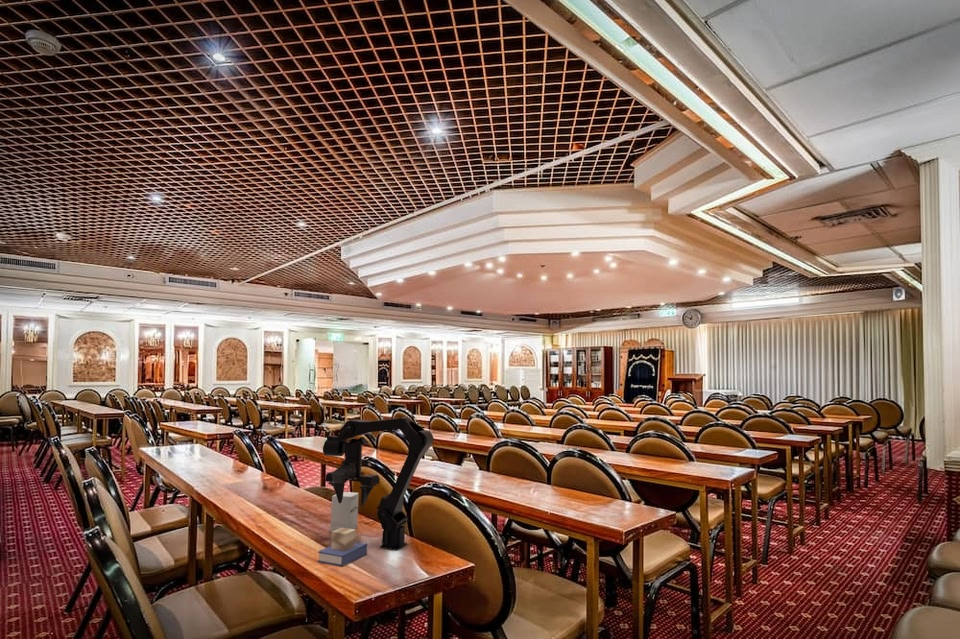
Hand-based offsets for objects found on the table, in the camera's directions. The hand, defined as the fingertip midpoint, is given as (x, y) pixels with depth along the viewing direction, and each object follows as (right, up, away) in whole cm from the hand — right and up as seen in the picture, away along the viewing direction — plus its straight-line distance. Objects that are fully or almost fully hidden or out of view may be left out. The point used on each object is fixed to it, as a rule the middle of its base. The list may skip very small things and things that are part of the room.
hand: (351, 504), depth 173 cm
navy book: (+2, -10, -17) cm, 20 cm away
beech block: (+2, -7, -17) cm, 18 cm away
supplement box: (-6, -14, +12) cm, 19 cm away
